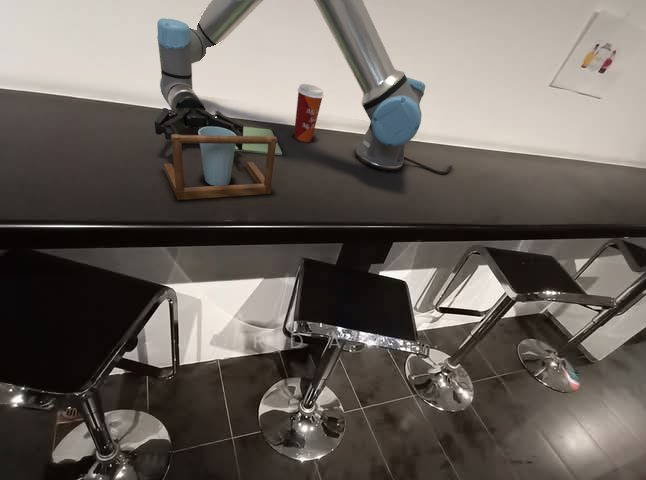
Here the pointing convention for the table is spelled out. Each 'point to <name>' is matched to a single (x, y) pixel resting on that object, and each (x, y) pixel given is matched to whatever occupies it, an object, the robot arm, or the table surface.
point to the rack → (261, 187)
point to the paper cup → (307, 111)
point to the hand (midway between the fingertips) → (211, 144)
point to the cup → (217, 157)
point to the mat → (257, 147)
